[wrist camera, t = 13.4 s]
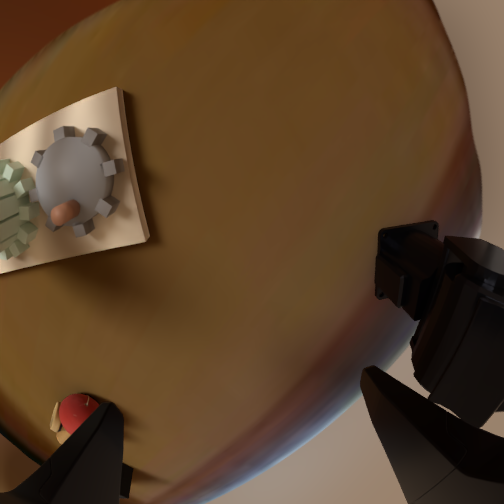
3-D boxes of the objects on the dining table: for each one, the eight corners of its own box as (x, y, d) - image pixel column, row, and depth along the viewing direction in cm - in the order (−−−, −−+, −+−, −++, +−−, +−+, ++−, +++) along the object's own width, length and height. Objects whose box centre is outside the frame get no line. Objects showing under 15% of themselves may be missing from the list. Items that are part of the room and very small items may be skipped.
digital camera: (110, 455, 32) (103, 487, 25) (133, 468, 34) (128, 499, 27) (81, 457, 33) (74, 484, 27) (102, 470, 35) (96, 496, 29)
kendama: (93, 438, 32) (126, 415, 26) (77, 464, 26) (104, 454, 20) (57, 409, 31) (74, 373, 24) (39, 433, 25) (45, 408, 19)
